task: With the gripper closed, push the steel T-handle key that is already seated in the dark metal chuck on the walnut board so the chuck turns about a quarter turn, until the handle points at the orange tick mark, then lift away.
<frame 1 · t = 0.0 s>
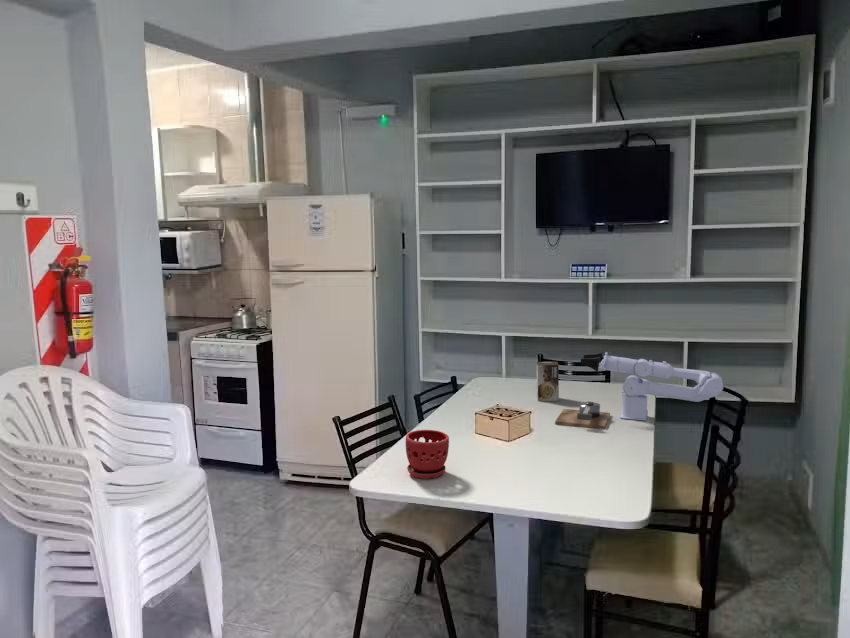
hand: (582, 359, 246), 22 cm above the table, tool horizontal, fingers open, 7 cm apart
chuck: (587, 412, 236), point 4 cm above the table, hinge at 0.0°
plant pot: (427, 473, 189), on the table
board: (583, 419, 239), on the table
coffee box: (547, 399, 270), on the table
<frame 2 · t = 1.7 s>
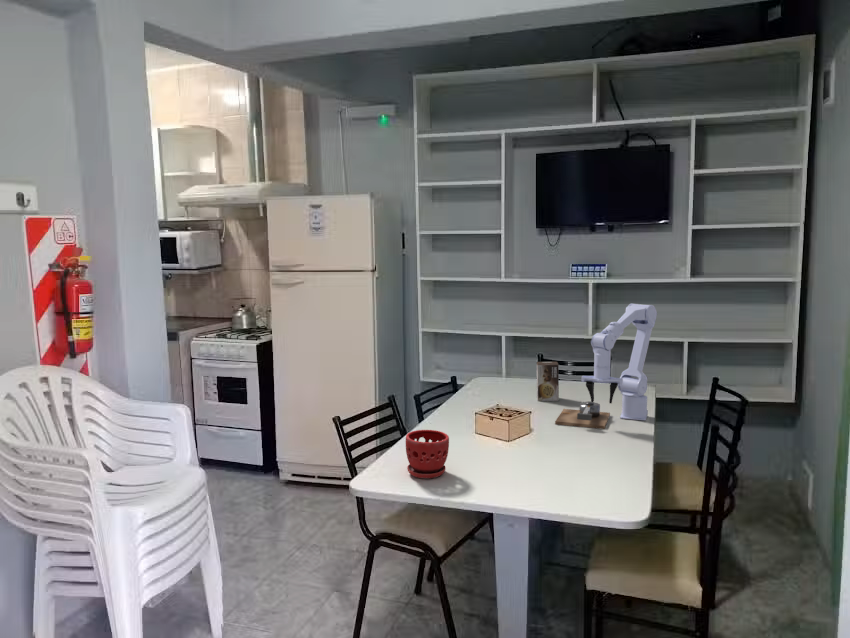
hand: (601, 402, 229), 9 cm above the table, tool pointing down, fingers open, 6 cm apart
nothing on the table moved.
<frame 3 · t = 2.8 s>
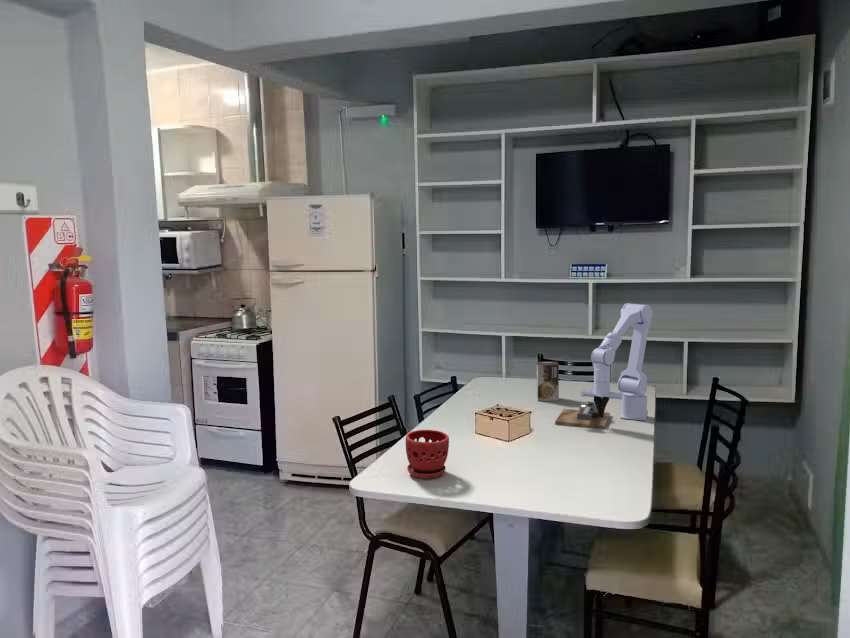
hand: (601, 416, 230), 4 cm above the table, tool pointing down, fingers closed
nothing on the table moved.
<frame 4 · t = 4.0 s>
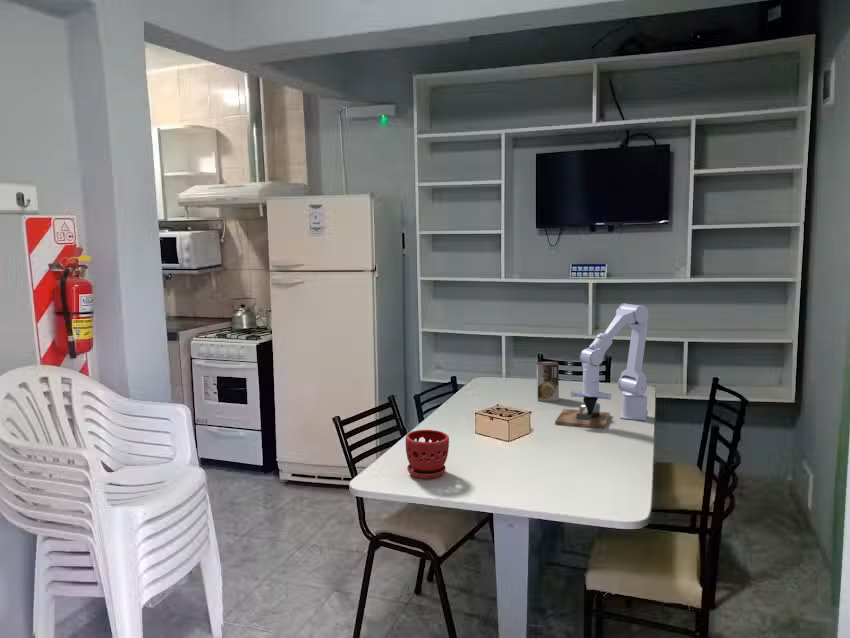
hand: (590, 416, 232), 3 cm above the table, tool pointing down, fingers closed
chuck: (587, 412, 236), point 4 cm above the table, hinge at 1.2°, touching gripper
everything else where it was.
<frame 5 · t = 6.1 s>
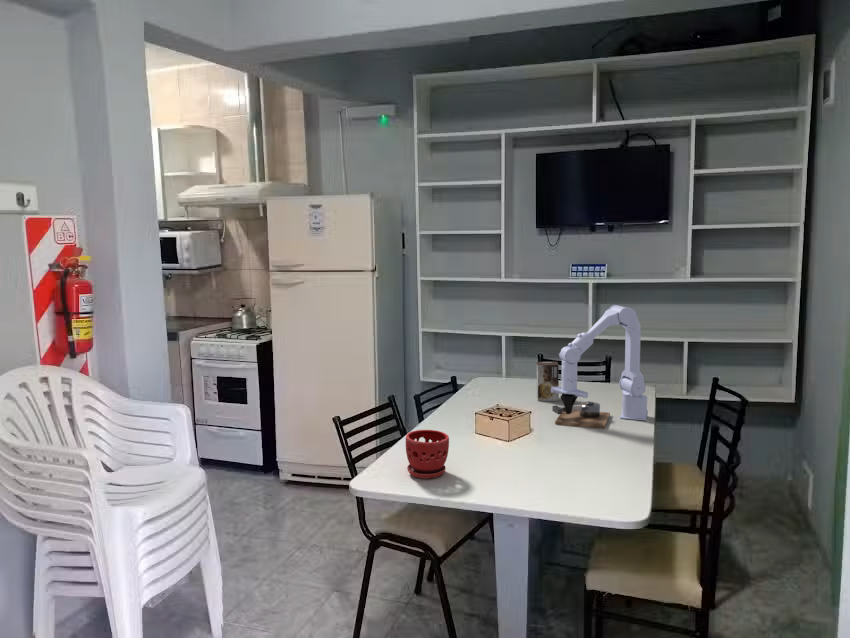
hand: (568, 413, 236), 3 cm above the table, tool pointing down, fingers closed
chuck: (577, 409, 240), point 4 cm above the table, hinge at 54.5°, touching gripper
everything else where it was.
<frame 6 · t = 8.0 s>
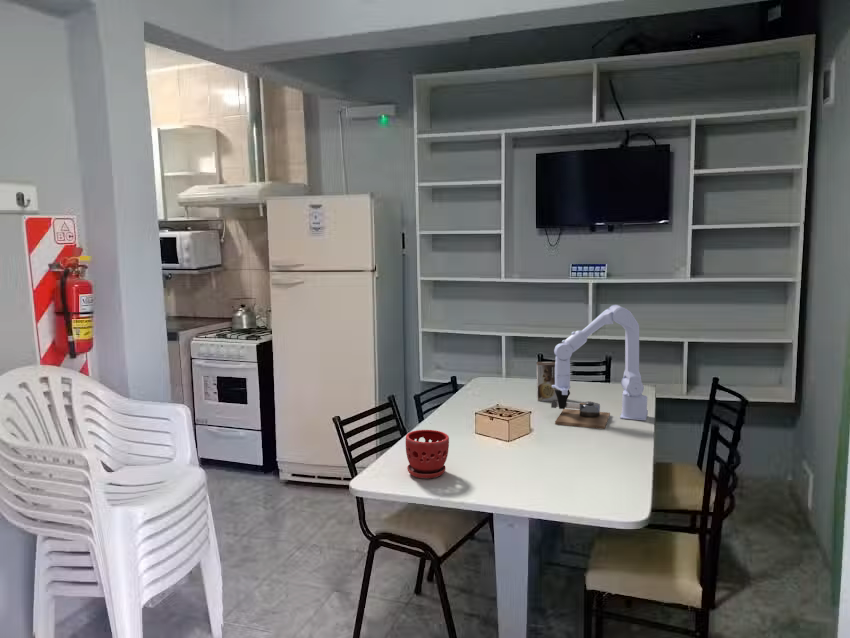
hand: (561, 408, 243), 3 cm above the table, tool pointing down, fingers closed
chuck: (575, 407, 243), point 4 cm above the table, hinge at 92.1°, touching gripper
everything else where it was.
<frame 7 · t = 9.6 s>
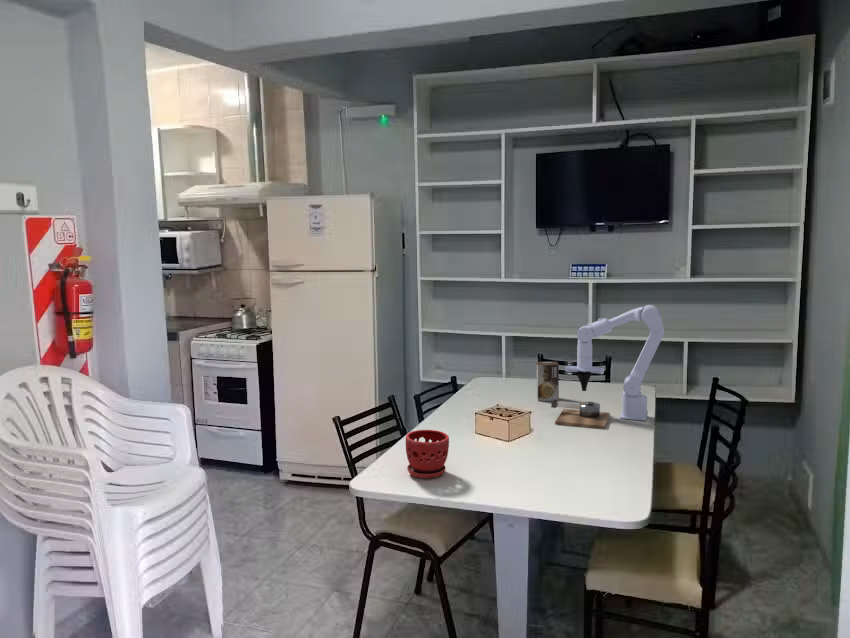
hand: (584, 390, 247), 9 cm above the table, tool pointing down, fingers closed
chuck: (575, 407, 243), point 4 cm above the table, hinge at 92.8°
everything else where it was.
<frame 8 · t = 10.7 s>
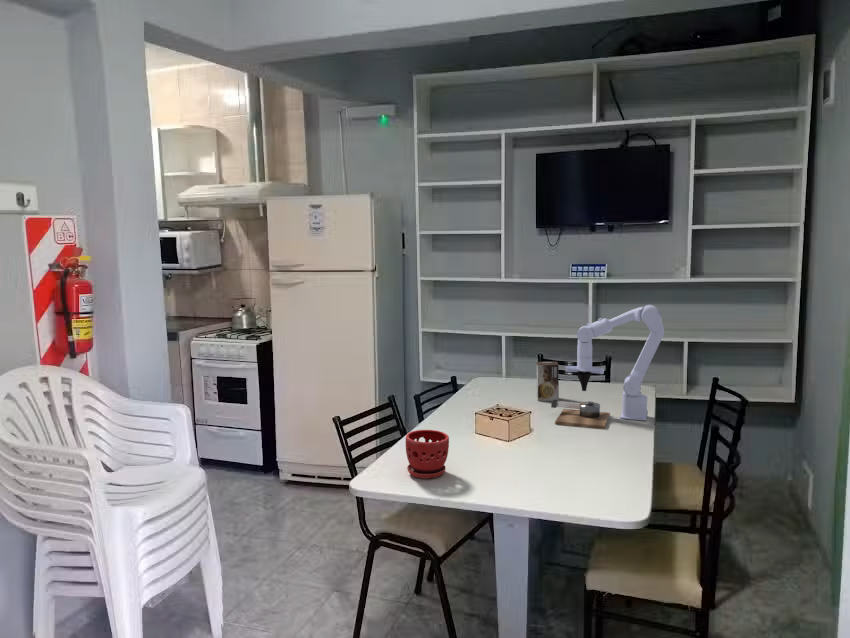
hand: (584, 390, 247), 9 cm above the table, tool pointing down, fingers closed
nothing on the table moved.
at the end: chuck at +93° (first picture: +0°) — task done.
